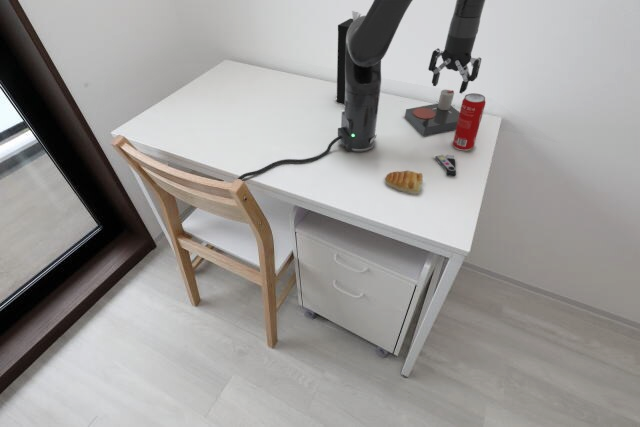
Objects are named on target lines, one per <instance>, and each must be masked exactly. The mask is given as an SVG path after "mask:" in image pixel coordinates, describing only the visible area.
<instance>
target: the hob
mask: <svg viewBox="0 0 640 427" xmlns="http://www.w3.org/2000/svg"><path fill="white" fill-rule="evenodd" d="M438 102H439V100H438V101H436V103H432V104H427V105H421V106H416V107H411V108H406V109H405V112H404V119H405V120H406V121H407V122H408V123H409V124H410V125H411V126H412V127H413V128H414V129H415V130H416V131H417V132H418V133H419V134H420V135H421V136H422V137H427V136H432V135H438V134H443V133H447V132H453V131H456V128H457V123H458V119H459V114H460V110H458V109H456V108H455V106H456V105H455V104H451V107H450V109H449V110H441V109H439V108H438V107H437V106H438ZM418 108H427V109H431V110H433V111H434V112H435V117H433V118H431V119H421V118H418V117H416V116H415V115H414V114H413V111H414V110H415V109H418Z"/></svg>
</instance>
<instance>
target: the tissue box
mask: <svg viewBox="0 0 640 427" xmlns="http://www.w3.org/2000/svg"><path fill="white" fill-rule="evenodd" d="M351 14H352V15H351V16H352V18H349V19H346V20H344V21H343V22H341V23H339V24H338V25H337V62H336V63H337V64H336V65H337V66H336V69H337V70H336V71H337V72H336V102H337V103H340V104H344V105H345V55H346V35H347V31H348V28H349V26H350V25H351V23H352V22H353V21H354V20H355V19H357V18H359V17H361V16H362V13H360V12H359V11H355V10H351Z"/></svg>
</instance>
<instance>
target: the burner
mask: <svg viewBox="0 0 640 427" xmlns="http://www.w3.org/2000/svg"><path fill="white" fill-rule="evenodd" d="M413 114H414V115H415V116H416V117H418V118H421V119H431V118H433V117H435V112H434V111H433V110H431V109H427V108H418V109H415V110H414V111H413Z"/></svg>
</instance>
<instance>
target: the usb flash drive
mask: <svg viewBox="0 0 640 427" xmlns="http://www.w3.org/2000/svg"><path fill="white" fill-rule="evenodd" d="M434 159H435V160H436V161H437V162H438V163H439V165H441V167H442V168H443V169H444V170H445V171H446V176H448V177H456V176H457V172H456V171H457V167H456V159H455V154H446V157H445V155H444V154H437V155H435V157H434Z"/></svg>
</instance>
